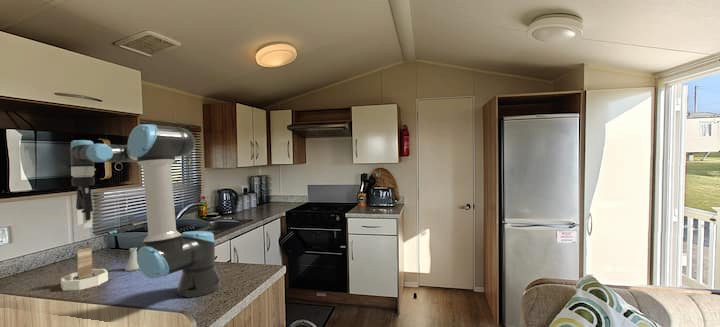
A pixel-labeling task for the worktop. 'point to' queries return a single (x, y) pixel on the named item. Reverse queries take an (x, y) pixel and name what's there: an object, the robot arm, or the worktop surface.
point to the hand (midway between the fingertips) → (84, 226)
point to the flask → (132, 260)
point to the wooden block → (84, 262)
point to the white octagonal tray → (84, 280)
